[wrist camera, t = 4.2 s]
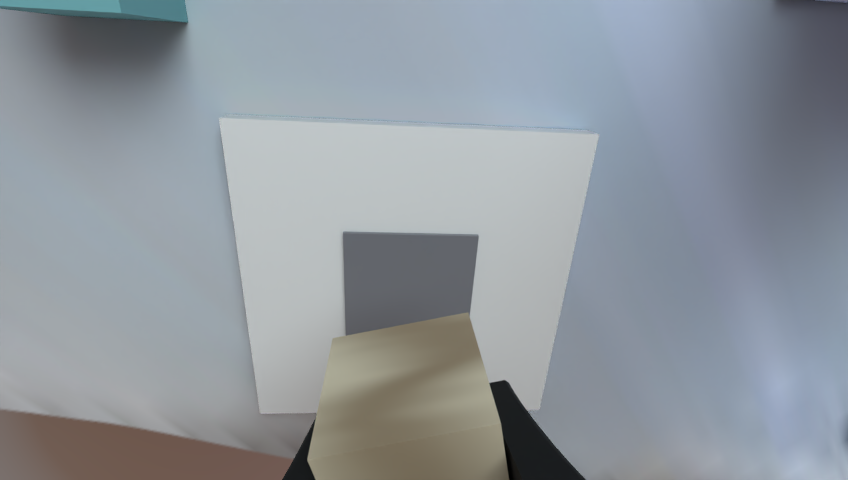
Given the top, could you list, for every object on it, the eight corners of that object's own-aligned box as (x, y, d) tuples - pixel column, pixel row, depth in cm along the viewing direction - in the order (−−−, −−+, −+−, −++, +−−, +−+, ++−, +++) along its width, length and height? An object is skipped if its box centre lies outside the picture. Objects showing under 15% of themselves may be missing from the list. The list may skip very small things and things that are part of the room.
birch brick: (468, 312, 12) (500, 423, 8) (484, 412, 14) (517, 542, 10) (332, 338, 12) (307, 460, 9) (364, 435, 14) (355, 572, 10)
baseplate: (588, 130, 17) (601, 135, 16) (533, 395, 23) (540, 412, 21) (228, 113, 16) (216, 118, 15) (265, 398, 21) (258, 417, 20)
